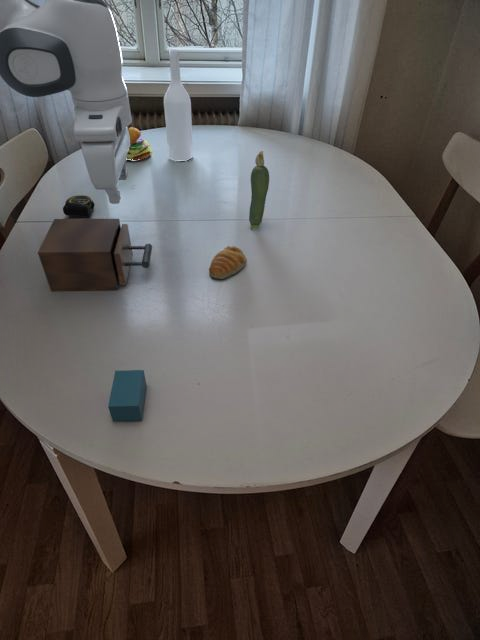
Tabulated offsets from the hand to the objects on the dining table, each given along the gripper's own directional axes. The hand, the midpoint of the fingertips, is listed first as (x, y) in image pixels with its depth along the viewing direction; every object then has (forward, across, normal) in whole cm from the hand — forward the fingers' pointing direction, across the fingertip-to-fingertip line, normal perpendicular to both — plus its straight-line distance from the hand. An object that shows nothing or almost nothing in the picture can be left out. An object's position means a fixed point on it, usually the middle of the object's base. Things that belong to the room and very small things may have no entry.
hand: (119, 189), depth 81 cm
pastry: (+20, -1, +20) cm, 28 cm away
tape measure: (+19, -25, -17) cm, 36 cm away
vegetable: (+20, -18, +28) cm, 39 cm away
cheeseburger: (+19, -62, -8) cm, 65 cm away
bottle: (+20, -62, +7) cm, 65 cm away
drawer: (+18, 0, -5) cm, 19 cm away
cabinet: (+19, 0, -10) cm, 21 cm away
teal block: (+19, +35, +3) cm, 40 cm away
